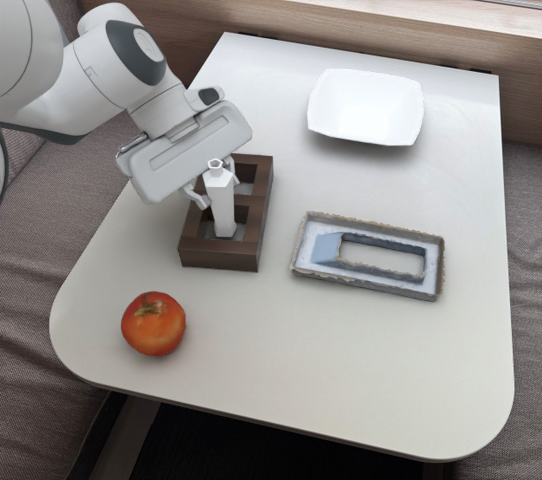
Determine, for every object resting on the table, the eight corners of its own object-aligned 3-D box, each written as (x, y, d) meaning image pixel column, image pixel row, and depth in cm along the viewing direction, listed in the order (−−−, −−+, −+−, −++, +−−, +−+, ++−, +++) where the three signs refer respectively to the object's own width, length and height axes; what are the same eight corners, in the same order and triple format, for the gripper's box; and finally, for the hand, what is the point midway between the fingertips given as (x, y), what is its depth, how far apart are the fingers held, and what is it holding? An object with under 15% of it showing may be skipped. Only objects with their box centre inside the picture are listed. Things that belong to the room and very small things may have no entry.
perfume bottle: (217, 215, 88) (206, 149, 77) (241, 222, 88) (234, 156, 76) (206, 235, 86) (192, 169, 74) (230, 242, 85) (221, 177, 73)
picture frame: (304, 219, 93) (305, 208, 91) (444, 242, 91) (448, 232, 89) (288, 280, 85) (288, 270, 82) (441, 307, 83) (445, 297, 80)
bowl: (415, 171, 101) (420, 150, 97) (298, 153, 103) (298, 131, 99) (421, 101, 115) (427, 79, 110) (318, 86, 117) (319, 63, 112)
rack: (257, 272, 85) (256, 254, 81) (181, 266, 85) (176, 248, 81) (273, 175, 99) (272, 155, 95) (208, 170, 99) (204, 150, 95)
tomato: (175, 371, 74) (164, 346, 68) (116, 354, 76) (100, 328, 69) (201, 317, 80) (193, 289, 74) (146, 301, 81) (134, 273, 75)
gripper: (113, 148, 68) (175, 234, 72) (228, 80, 78) (276, 159, 82) (102, 157, 73) (160, 237, 77) (211, 92, 83) (258, 166, 87)
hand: (221, 196), depth 80 cm, fingers closed on perfume bottle, 4 cm apart
